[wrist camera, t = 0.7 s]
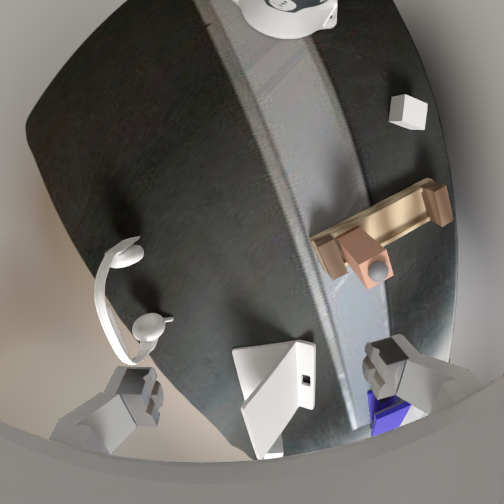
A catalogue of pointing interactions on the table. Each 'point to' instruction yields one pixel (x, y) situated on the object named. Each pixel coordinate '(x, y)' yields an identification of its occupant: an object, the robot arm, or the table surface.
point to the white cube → (408, 112)
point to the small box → (275, 449)
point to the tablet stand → (274, 387)
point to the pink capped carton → (365, 257)
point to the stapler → (386, 413)
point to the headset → (144, 326)
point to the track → (386, 221)
